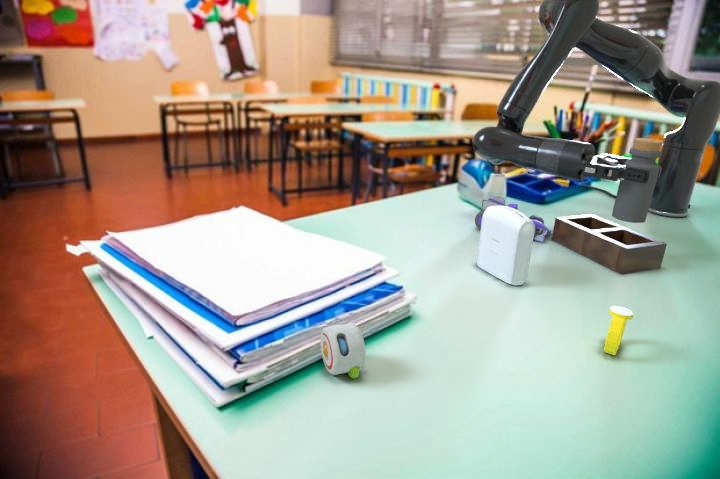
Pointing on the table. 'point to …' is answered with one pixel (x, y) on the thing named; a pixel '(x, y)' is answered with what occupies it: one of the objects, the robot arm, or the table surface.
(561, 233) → the box
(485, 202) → the toy race car
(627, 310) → the white topped yellow dowel
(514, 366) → the table surface
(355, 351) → the roller toy
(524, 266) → the photo printer
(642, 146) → the bottle
